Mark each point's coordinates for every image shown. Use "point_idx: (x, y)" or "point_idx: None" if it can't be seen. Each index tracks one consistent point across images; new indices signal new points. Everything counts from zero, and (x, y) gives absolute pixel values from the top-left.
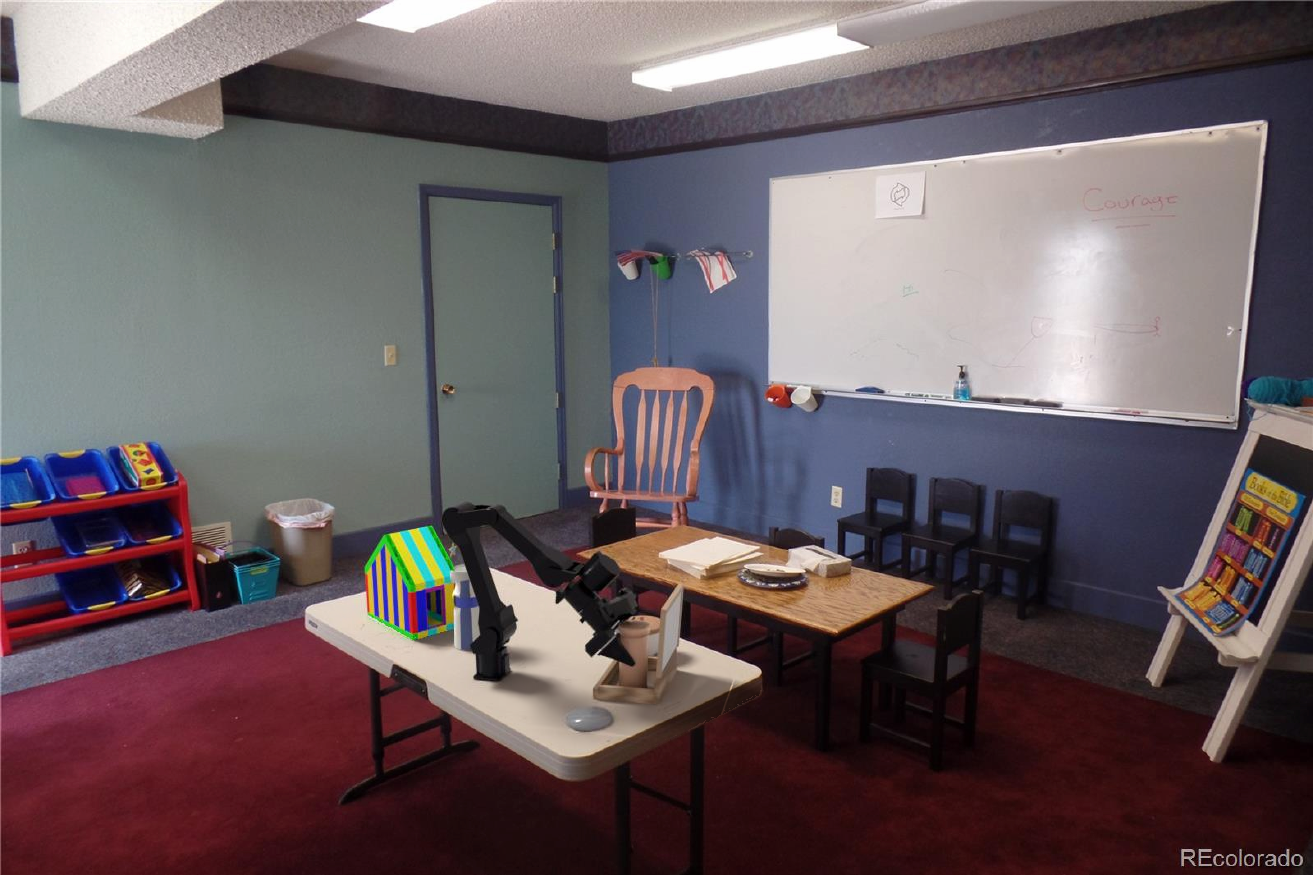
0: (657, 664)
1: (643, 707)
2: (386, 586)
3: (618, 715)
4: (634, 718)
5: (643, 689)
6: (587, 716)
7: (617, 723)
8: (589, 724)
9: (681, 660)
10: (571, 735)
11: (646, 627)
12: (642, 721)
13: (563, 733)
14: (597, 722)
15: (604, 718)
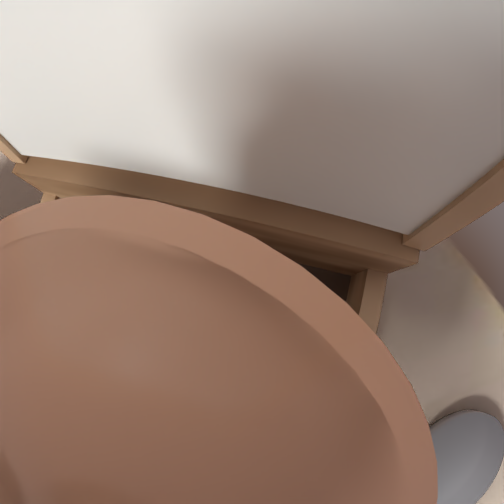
0: (466, 221)
1: (380, 320)
2: None
3: (429, 398)
4: (451, 343)
5: (369, 322)
6: (455, 478)
7: (472, 389)
8: (494, 456)
9: (13, 185)
10: (497, 479)
11: (244, 273)
12: (468, 315)
13: (484, 499)
14: (491, 440)
15: (477, 429)
